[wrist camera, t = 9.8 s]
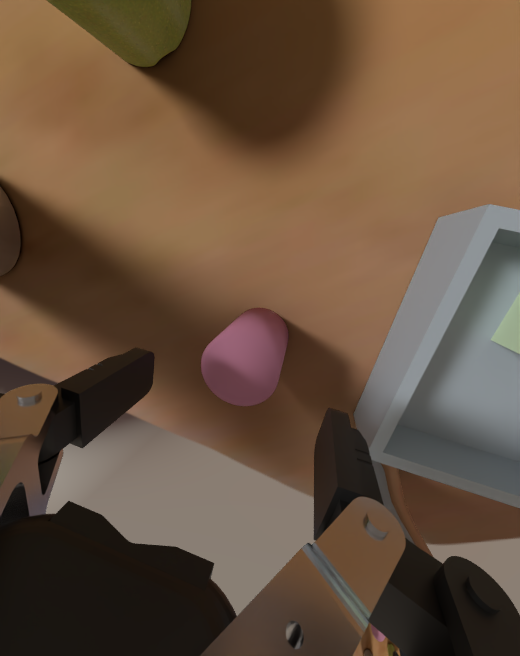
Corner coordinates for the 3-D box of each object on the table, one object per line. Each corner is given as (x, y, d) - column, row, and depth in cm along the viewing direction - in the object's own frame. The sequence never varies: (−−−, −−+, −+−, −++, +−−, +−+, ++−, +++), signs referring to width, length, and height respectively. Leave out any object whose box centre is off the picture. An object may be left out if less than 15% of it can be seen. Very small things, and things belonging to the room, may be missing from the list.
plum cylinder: (228, 352, 20) (196, 392, 14) (238, 301, 18) (206, 323, 13) (280, 368, 19) (268, 415, 14) (295, 316, 18) (288, 346, 12)
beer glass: (331, 505, 22) (368, 934, 8) (306, 445, 21) (298, 840, 7) (413, 497, 20) (644, 1043, 6) (391, 429, 19) (624, 942, 5)
